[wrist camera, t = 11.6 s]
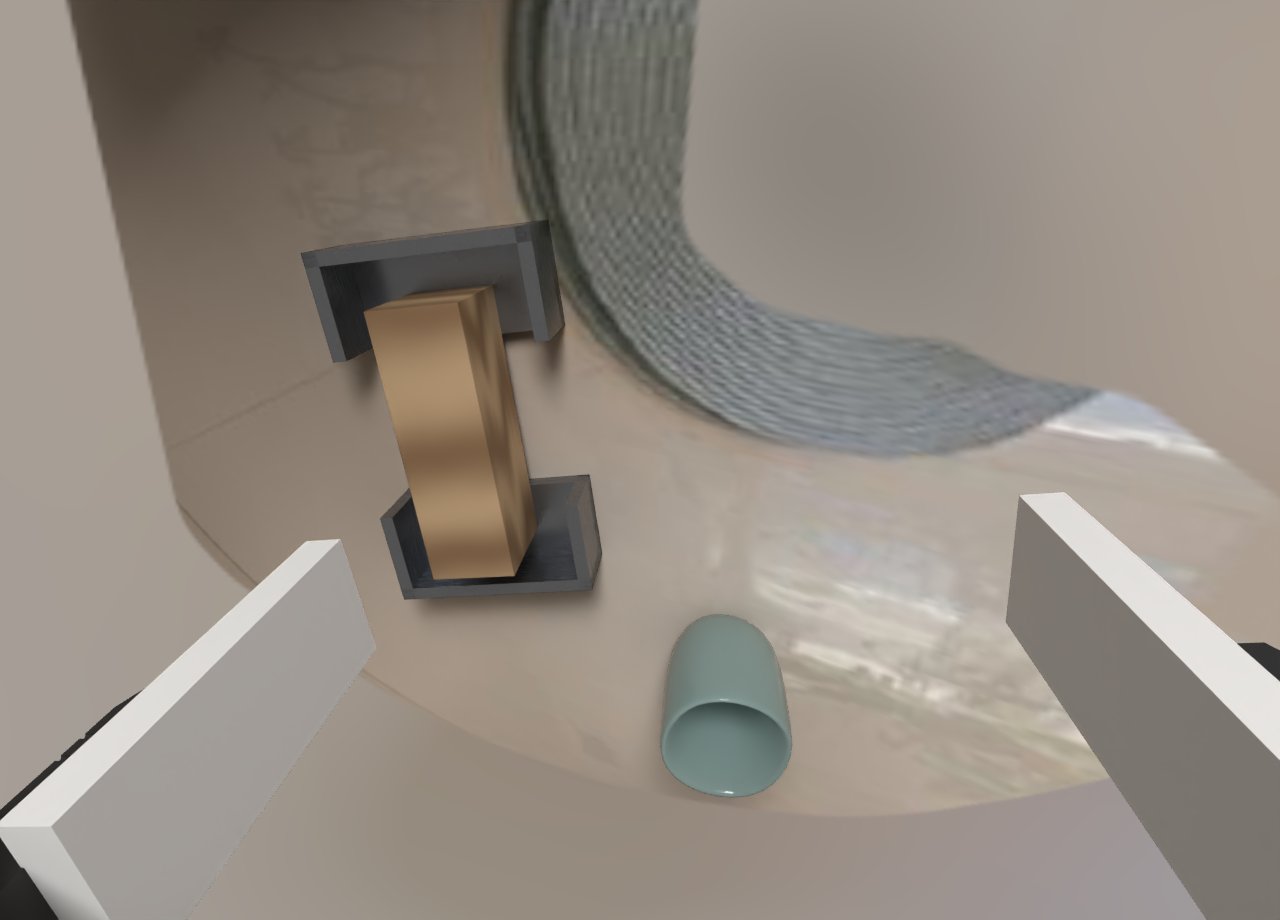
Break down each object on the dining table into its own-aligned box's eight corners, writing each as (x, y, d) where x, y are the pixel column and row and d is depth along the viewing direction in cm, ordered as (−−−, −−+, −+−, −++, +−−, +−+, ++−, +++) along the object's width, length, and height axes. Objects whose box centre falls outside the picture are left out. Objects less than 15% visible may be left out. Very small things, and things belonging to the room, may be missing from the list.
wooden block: (411, 293, 40) (363, 311, 34) (492, 284, 39) (457, 302, 34) (466, 531, 46) (433, 579, 40) (537, 527, 45) (514, 576, 40)
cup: (654, 667, 50) (643, 777, 41) (687, 583, 47) (683, 682, 38) (753, 697, 50) (764, 813, 41) (792, 616, 47) (813, 722, 38)
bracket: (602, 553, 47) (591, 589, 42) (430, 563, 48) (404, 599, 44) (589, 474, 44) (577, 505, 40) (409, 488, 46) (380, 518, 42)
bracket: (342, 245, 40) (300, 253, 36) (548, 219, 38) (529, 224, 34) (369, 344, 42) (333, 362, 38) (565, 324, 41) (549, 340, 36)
